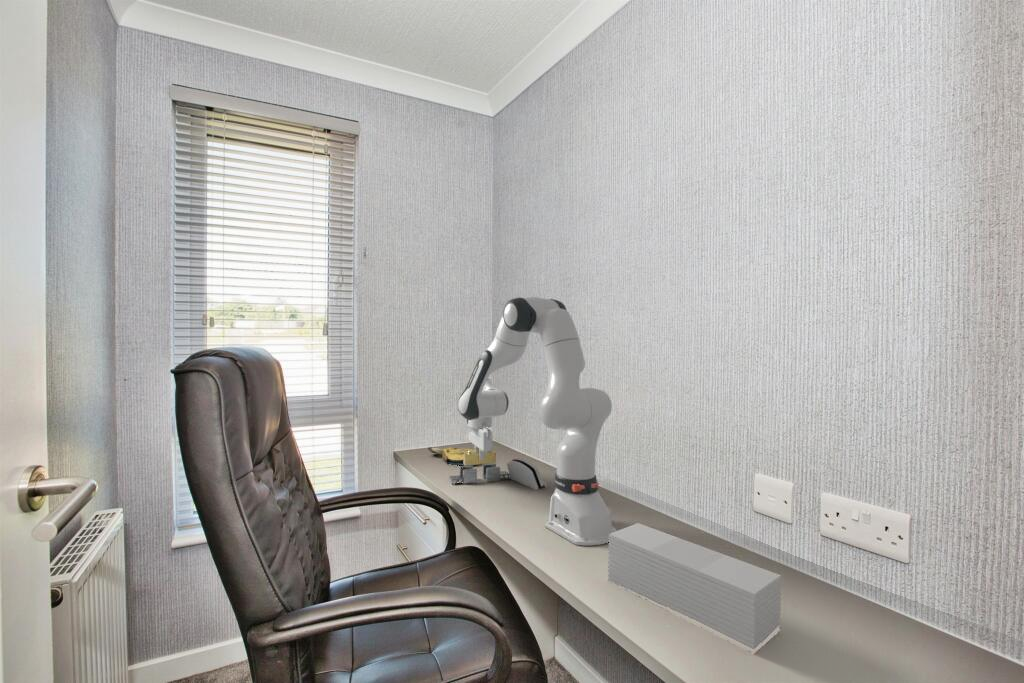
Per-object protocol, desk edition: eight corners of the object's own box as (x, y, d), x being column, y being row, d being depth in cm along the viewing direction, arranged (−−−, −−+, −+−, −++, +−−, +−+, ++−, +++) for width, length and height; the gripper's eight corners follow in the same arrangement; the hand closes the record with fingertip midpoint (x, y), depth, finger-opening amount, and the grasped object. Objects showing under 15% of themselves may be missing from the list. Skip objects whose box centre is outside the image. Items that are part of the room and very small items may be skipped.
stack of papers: (608, 582, 109) (608, 533, 109) (637, 568, 116) (637, 522, 116) (753, 656, 84) (754, 593, 84) (780, 632, 91) (781, 575, 91)
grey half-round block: (547, 487, 175) (540, 462, 173) (537, 494, 173) (530, 468, 171) (520, 476, 189) (513, 452, 187) (510, 482, 187) (503, 458, 185)
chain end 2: (509, 479, 184) (510, 466, 184) (487, 482, 181) (487, 468, 181) (504, 475, 190) (504, 462, 190) (482, 477, 186) (482, 464, 186)
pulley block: (442, 438, 226) (489, 449, 207) (444, 450, 227) (490, 462, 207) (418, 448, 216) (465, 460, 196) (420, 460, 217) (466, 474, 197)
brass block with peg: (495, 462, 184) (496, 450, 184) (465, 465, 179) (465, 452, 179) (493, 461, 186) (494, 448, 186) (463, 463, 182) (463, 450, 182)
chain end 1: (476, 483, 179) (476, 469, 179) (452, 485, 176) (453, 471, 176) (472, 478, 185) (472, 465, 185) (449, 480, 182) (449, 467, 182)
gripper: (497, 426, 174) (496, 464, 174) (480, 417, 193) (480, 451, 193) (480, 427, 172) (479, 466, 172) (464, 417, 191) (464, 453, 191)
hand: (479, 458), depth 183 cm, fingers closed on brass block with peg, 2 cm apart
